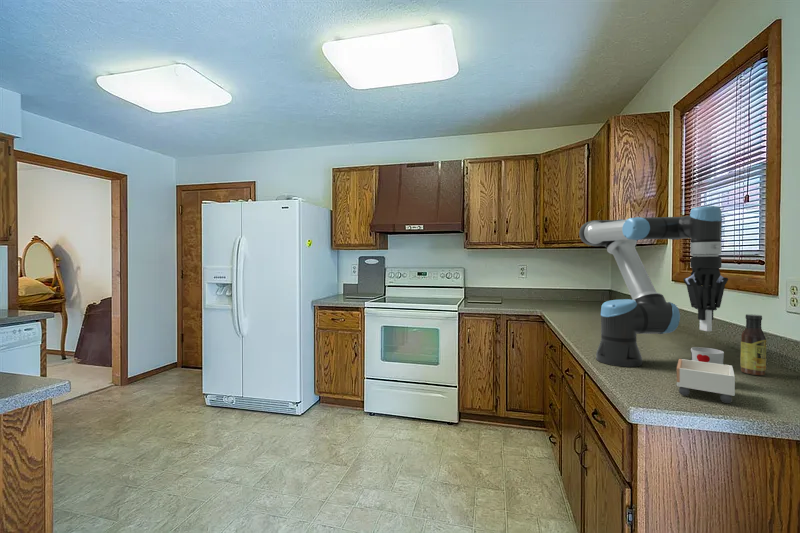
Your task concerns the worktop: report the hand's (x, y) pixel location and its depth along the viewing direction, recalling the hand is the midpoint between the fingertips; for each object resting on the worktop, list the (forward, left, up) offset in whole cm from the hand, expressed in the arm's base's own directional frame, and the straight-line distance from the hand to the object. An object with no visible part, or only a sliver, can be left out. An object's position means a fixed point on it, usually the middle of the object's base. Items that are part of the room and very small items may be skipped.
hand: (705, 330), depth 116 cm
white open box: (0, -13, -17) cm, 21 cm away
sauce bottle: (+12, +20, -17) cm, 29 cm away
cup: (0, +1, -17) cm, 17 cm away
